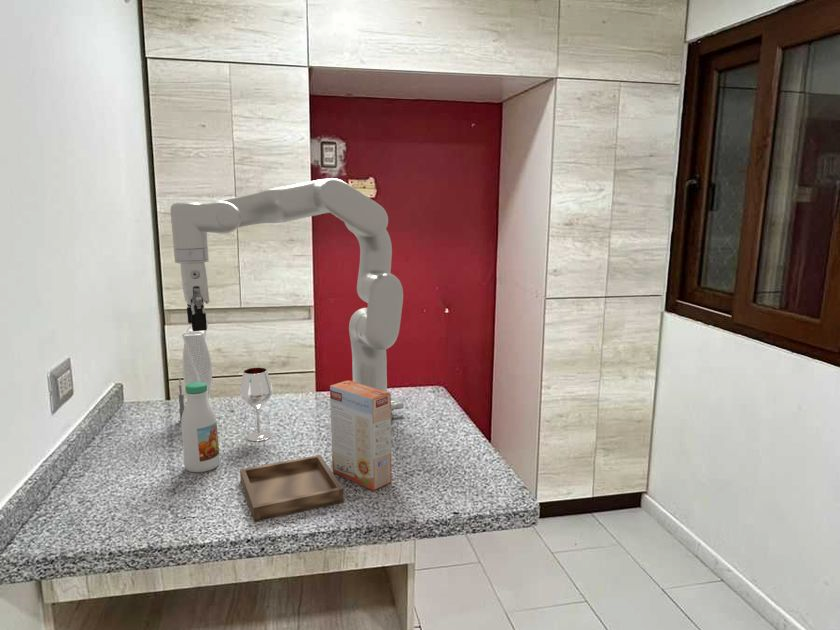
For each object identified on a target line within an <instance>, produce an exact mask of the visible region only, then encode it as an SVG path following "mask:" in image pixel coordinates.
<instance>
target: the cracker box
mask: <svg viewBox="0 0 840 630" xmlns="http://www.w3.org/2000/svg"><path fill="white" fill-rule="evenodd" d="M391 394H392V393H391V392H388V391H387V392H385V391H382V390H379V389H376V388H372V387H369V386H366V385H362V384H359V383H356V382H353V380H344V381H341V382H337V383H334V384H331V385H329V396H330V397H329V398H330V427H331V428H330V429H331V433H330V434H331V435H330V436H331V459H332V460H331V463H332V467H331V468H332V473H335V474H337V475H338V476H339V475H340V476H341V477H343V478H346V479H348V480H350V481H352V482H353V483H356V484H357V485H360V486H363V487H364V488H367V489H369V490H370V491H373V492H374V491H376V490H378V489H380V488H382V487H385V486H387V485H389V484H391V483H392V480H393V479H392V420H391V412H392V411H391V401H392V400H391V398H392V397H391Z"/></svg>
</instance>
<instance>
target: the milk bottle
mask: <svg viewBox="0 0 840 630" xmlns="http://www.w3.org/2000/svg"><path fill="white" fill-rule="evenodd" d="M184 387H185V395H186V397H187V398H186V404H185V409H184V411H183V414H182V420H181V422H180V424H181V437H182V438H181V440H182V451H183V463H184V468H185V470H186V471H187V472H190V473H204V472H209V471H213V470H214V469H216V468H217V467H218V466H219V465H220V461H221V460H220V459H221V458H220V447H219V434H218V433H219V432H218V425H217V424H218V423H217V416H216V412H215V410H214V408H213V407H212V404H211V403H210V400H209V401H208V399H207V395H206V393H207V384H206V383H205V382H193V383H189V384H187V385H186V386H185V385H184Z"/></svg>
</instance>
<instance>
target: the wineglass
mask: <svg viewBox="0 0 840 630" xmlns="http://www.w3.org/2000/svg"><path fill="white" fill-rule="evenodd" d="M267 369H268V368H265V367H250V368H247V369H245V370H243V372H242V377H241V381H240V388H239V395H240V399H242V401H243V402H244V403H245V404H247V405H249V406H250V407H251V408H252V409H254V411H255V416H256V431H254V432H251V433H250V432H249V433H248V434H247V435H246V436H245V438H246V440H247V441H250V442H263V441H266V440H269V439H271V437H272V433H271V432H269V431H267V430H261V420H260V417H261V416H260V410H261V408H263V407H264V405H266V404H267V403H268V402H269V401H270V399H271V398H272V396H273V393H274V390H273V386H272V385H273V384H272V381H271V378H270V376H269V373H268V370H267Z"/></svg>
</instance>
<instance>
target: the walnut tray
mask: <svg viewBox="0 0 840 630" xmlns="http://www.w3.org/2000/svg"><path fill="white" fill-rule="evenodd" d="M239 473H240V474H239V475H240V483H241V486H242V490H243V492H244V495H245V498H246V501H247V505H248V508H249V510H250V514H251V516H252V519H253V520H252V521H253V522H254V523H257V522H261V521H267V520H269V519H275V518H279V517H280V518H281V517H283V516H287V515H292V514H293V515H294V514H297V513H302V512H307V511H311V510H315V509H320V508H325V507H329V506H333V505H337V504H342V503H345V500H344V498H345V497H344V496H345V494H344V488H343V486H342V485H341V483H340V481H339V480H338V479H337V477H336V476H335V474H334V472H333V470H331V468H330V466H329V465H328V464H327V462H326V461H325V459H324V458H323V456H322V455H321V454H317V455H311V456H307V457H301V458H295V459H290V460H285V461H284V460H283V461H279V462H274V463H268V464H263V465H256V466H252V467H251V466H250V467H247V468H242V469H241V468H240V469H239Z"/></svg>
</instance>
